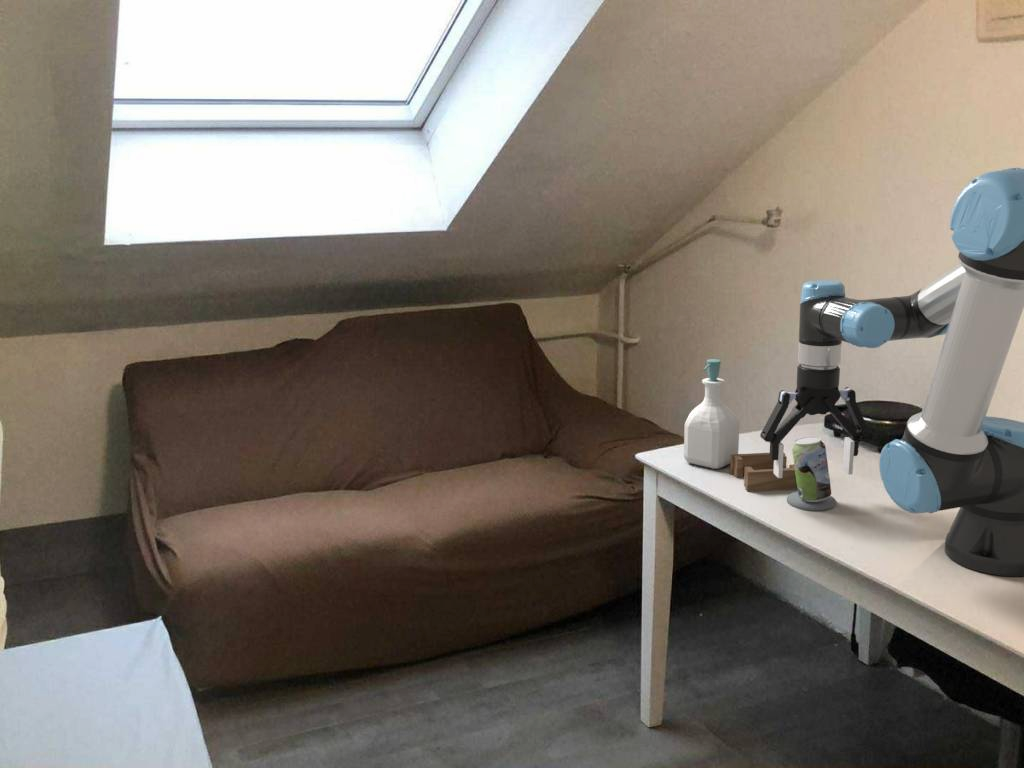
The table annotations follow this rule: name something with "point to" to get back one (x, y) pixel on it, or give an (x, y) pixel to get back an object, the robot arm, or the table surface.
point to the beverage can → (811, 469)
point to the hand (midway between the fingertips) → (812, 474)
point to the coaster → (810, 503)
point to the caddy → (762, 472)
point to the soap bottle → (711, 426)
